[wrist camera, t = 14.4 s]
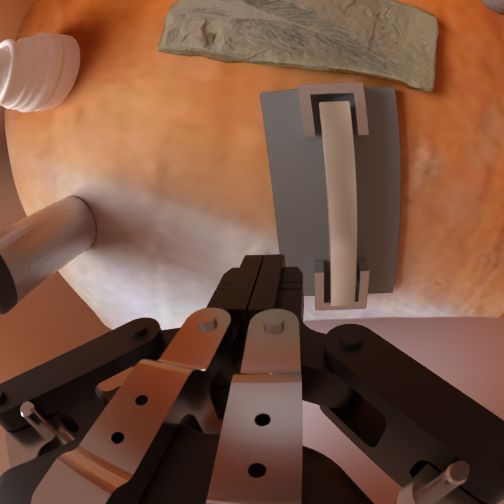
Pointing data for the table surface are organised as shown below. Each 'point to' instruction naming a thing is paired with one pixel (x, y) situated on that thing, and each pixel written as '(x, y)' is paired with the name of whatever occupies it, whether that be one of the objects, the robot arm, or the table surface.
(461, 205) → the table surface
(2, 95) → the honey pot
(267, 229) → the table surface
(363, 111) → the end caps
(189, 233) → the table surface
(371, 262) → the base board
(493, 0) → the house plant
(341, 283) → the slat
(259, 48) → the stone slab
